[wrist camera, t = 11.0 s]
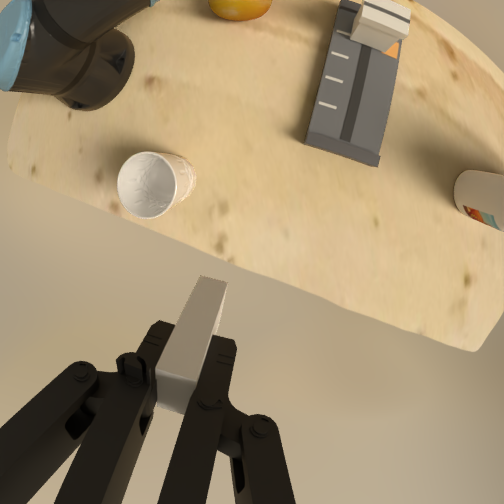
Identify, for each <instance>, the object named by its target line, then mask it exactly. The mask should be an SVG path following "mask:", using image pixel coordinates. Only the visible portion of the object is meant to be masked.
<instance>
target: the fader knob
mask: <svg viewBox="0 0 504 504" xmlns="http://www.w3.org/2000/svg"><path fill="white" fill-rule="evenodd" d="M410 13H411V10H410V9H408V8H406V7H404V6H402V5H400V4H397V3H395V2H393V1H391V0H362V5H361V7H360V9H359V11H358V13H357V15H356V16H355V18H354V22H353V27H352V32H351V36H350V40H353V41H356V42H359V43H362V44H364V45H367V46H370V47H372V48H375V49H377V50H380V51H382V52H384V53H385V52H386V51H387V50H388V49H389V48H390V47H391V46H392V45H393V44H395V43H396V42H397V41H398V40H399V39H402V40H404V39H405V38H406V37H407V36H408V32H409V24H410Z"/></svg>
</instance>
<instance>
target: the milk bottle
mask: <svg viewBox="0 0 504 504" xmlns="http://www.w3.org/2000/svg"><path fill="white" fill-rule="evenodd" d="M454 200H455V203H456V206H457V208H458V209H459V211H460V212H461V213H462V214H464V215H466V216H468V217H470V218H472V219H475V220H477V221H479V222H482V223H484V224H486V225H489V226H491V227H493V228H496V229H498V230H500V231H503V232H504V175H500V174H495V173H490V172H484V171H478V170H466V171H464V172H463V173H461V174H460V175H459V177H458V178H457V180H456V182H455V185H454Z"/></svg>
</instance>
